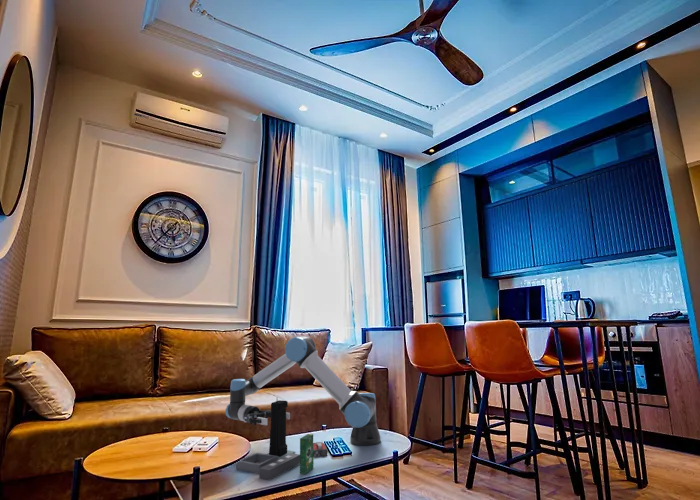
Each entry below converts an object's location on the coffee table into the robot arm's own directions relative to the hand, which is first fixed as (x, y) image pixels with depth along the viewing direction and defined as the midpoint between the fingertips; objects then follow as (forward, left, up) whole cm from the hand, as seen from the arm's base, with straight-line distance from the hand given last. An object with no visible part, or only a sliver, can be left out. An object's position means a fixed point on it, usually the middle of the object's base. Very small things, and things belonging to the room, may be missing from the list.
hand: (278, 419), depth 178 cm
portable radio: (0, 0, -15) cm, 15 cm away
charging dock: (-5, +15, -15) cm, 22 cm away
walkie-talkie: (-16, -8, -16) cm, 24 cm away
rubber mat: (0, 0, -15) cm, 16 cm away
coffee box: (-23, +11, -16) cm, 30 cm away
